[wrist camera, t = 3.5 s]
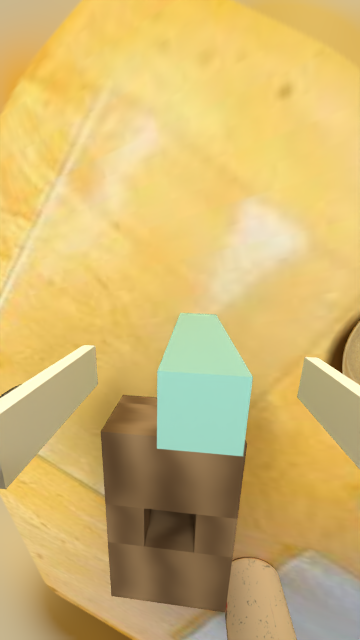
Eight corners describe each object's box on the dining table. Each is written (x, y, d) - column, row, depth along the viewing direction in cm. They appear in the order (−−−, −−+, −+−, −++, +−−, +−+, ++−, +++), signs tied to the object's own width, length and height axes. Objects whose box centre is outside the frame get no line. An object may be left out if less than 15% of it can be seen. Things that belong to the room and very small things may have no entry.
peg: (216, 314, 22) (252, 377, 8) (213, 348, 23) (243, 456, 9) (180, 313, 22) (157, 370, 8) (179, 346, 23) (156, 448, 9)
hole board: (234, 403, 24) (246, 444, 18) (219, 544, 29) (225, 612, 23) (122, 395, 25) (100, 431, 19) (127, 533, 30) (111, 595, 24)
